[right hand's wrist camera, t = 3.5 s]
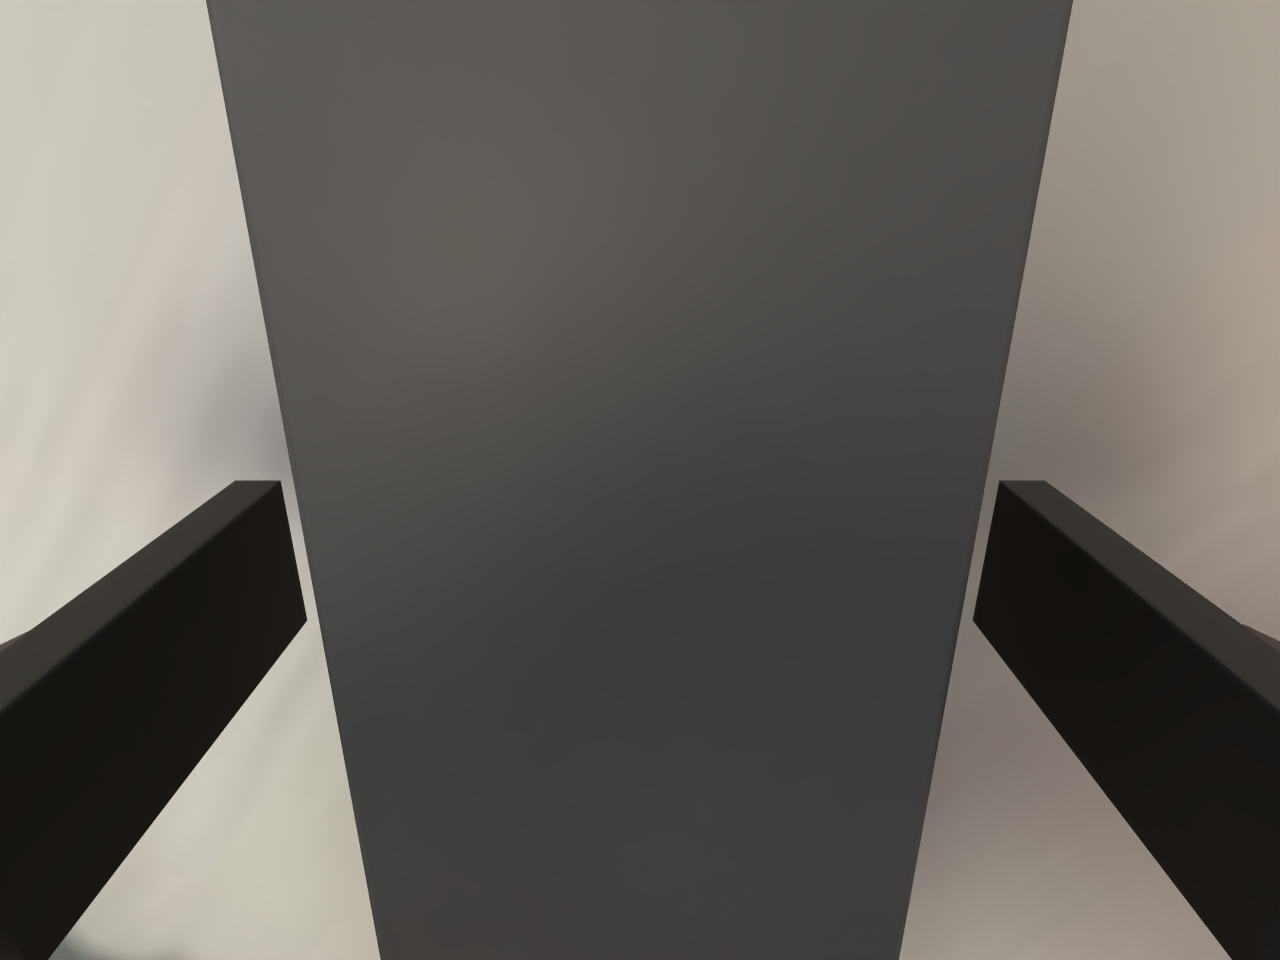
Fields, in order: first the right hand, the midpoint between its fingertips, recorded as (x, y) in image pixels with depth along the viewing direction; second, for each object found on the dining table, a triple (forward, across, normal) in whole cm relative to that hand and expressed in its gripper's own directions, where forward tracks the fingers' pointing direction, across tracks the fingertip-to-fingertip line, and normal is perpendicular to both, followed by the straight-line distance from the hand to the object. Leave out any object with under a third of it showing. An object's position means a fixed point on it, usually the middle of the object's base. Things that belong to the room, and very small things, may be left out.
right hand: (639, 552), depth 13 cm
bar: (+2, 0, -10) cm, 10 cm away
